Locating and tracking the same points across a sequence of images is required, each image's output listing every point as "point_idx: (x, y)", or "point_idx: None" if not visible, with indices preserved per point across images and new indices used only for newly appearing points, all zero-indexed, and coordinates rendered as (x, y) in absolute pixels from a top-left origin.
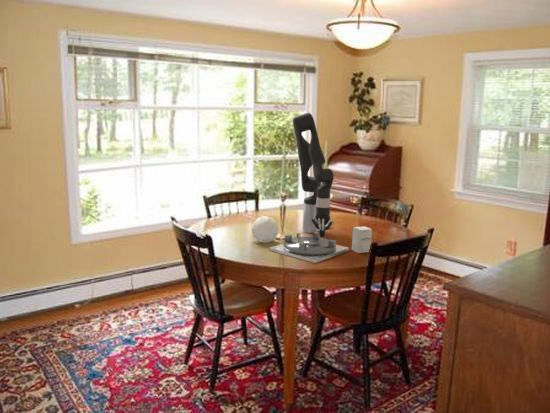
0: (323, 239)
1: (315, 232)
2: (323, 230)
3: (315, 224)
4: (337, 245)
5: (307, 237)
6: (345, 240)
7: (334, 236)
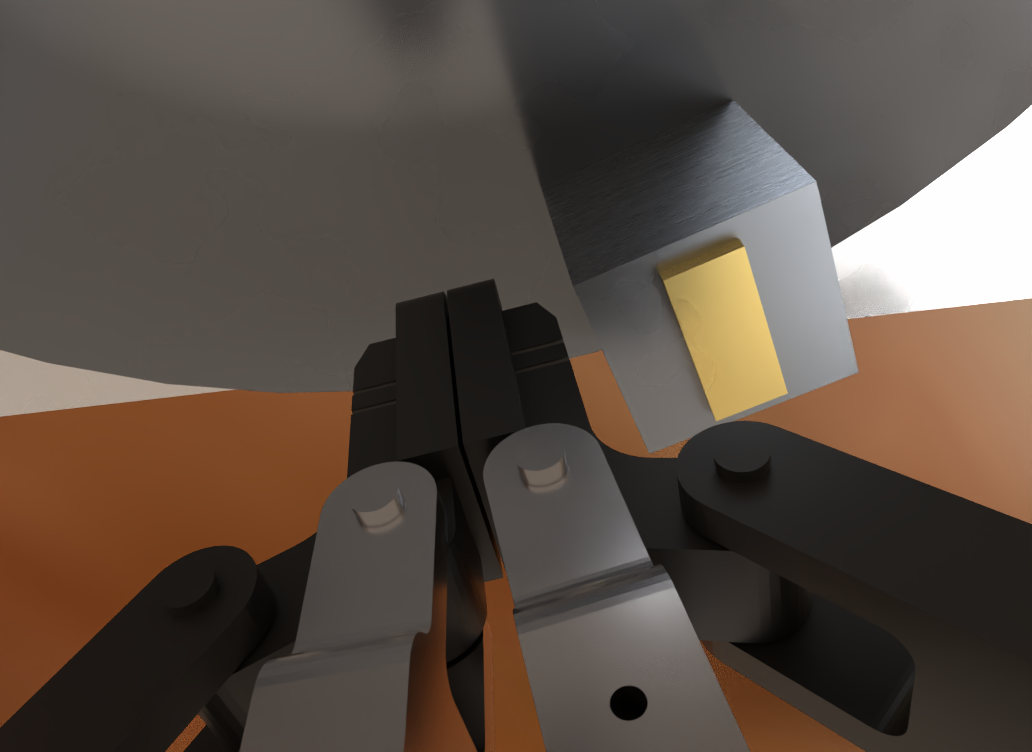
0: (379, 288)
1: (754, 305)
2: (339, 490)
3: (963, 580)
4: (12, 383)
5: (958, 38)
6: None
7: None
